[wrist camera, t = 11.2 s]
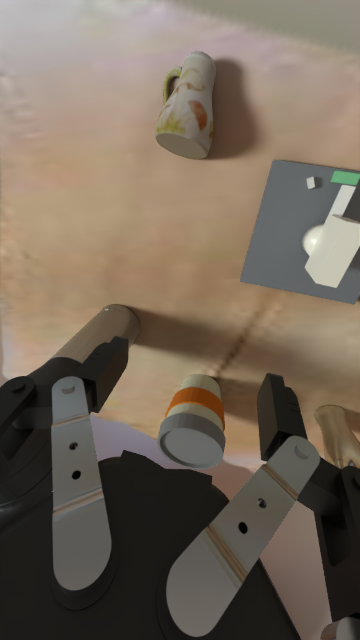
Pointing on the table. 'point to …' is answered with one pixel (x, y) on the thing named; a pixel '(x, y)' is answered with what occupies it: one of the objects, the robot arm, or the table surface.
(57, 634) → the robot arm
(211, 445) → the reusable coffee cup
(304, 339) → the table surface
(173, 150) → the mug
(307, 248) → the peg knob
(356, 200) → the dial board
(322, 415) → the beer glass
